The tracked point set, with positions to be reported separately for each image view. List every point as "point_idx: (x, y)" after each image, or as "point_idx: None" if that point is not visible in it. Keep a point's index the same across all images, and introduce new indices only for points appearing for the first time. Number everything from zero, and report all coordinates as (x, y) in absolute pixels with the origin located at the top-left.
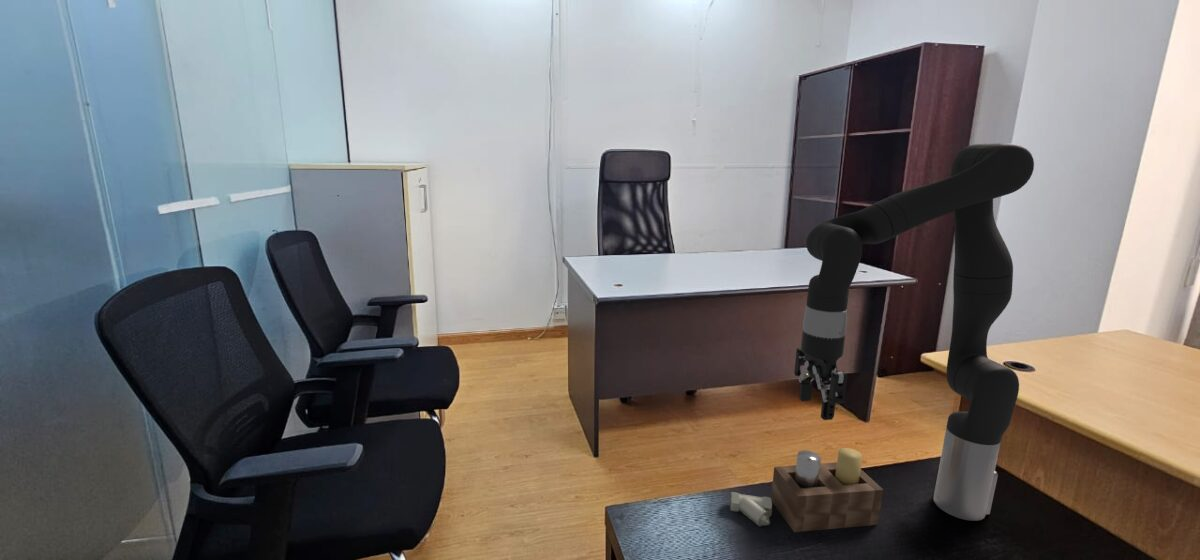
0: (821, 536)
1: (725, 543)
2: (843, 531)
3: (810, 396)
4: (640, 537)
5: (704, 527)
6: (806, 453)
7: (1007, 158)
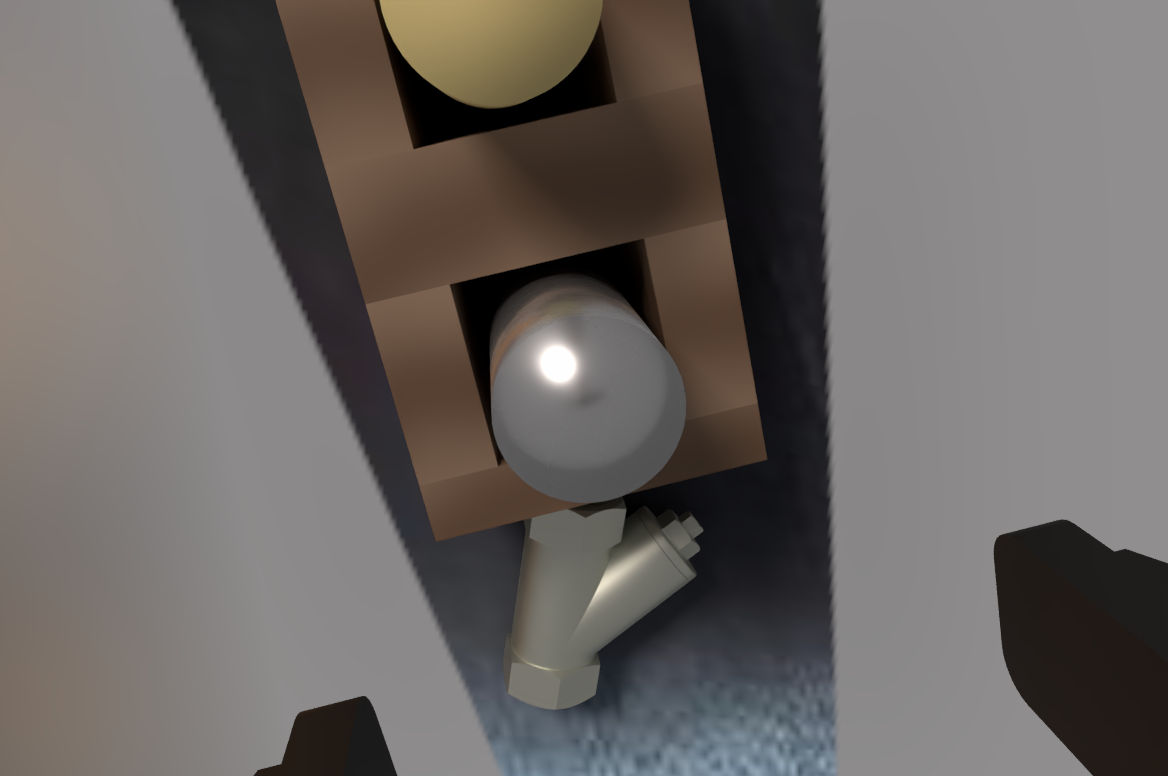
0: None
1: (793, 697)
2: None
3: (352, 741)
4: None
5: (696, 773)
6: (543, 423)
7: None
